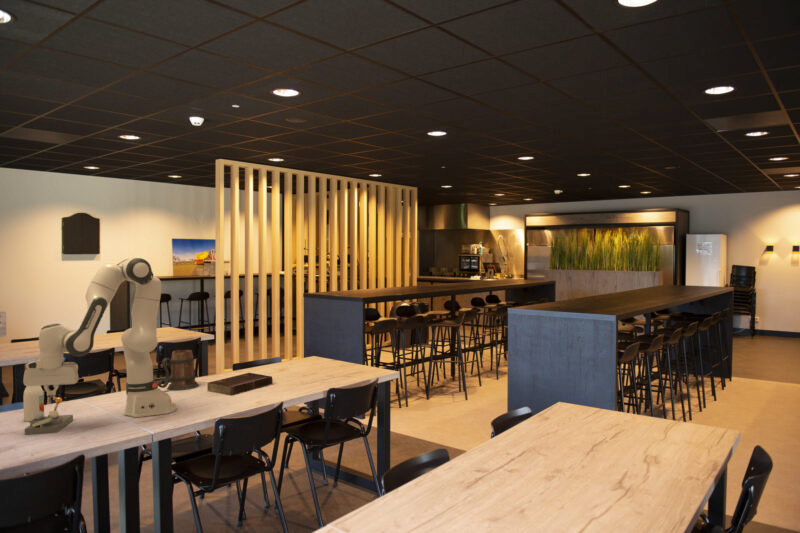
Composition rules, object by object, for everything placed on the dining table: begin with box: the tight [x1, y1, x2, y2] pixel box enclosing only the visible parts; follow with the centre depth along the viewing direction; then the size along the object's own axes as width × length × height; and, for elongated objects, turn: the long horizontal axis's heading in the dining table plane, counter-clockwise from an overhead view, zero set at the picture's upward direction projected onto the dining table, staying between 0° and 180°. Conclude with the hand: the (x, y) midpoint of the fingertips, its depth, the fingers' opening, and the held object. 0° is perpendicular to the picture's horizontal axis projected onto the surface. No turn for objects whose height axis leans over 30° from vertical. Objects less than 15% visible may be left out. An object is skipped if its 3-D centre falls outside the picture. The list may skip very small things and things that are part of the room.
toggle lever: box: [53, 397, 63, 411], centre depth 246 cm, size 3×3×7 cm
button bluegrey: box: [35, 411, 45, 420], centre depth 239 cm, size 3×3×2 cm
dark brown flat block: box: [206, 372, 274, 396], centre depth 309 cm, size 29×19×5 cm, turn 146°
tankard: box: [157, 349, 200, 392], centre depth 310 cm, size 24×17×20 cm
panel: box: [24, 412, 74, 436], centre depth 242 cm, size 12×18×4 cm, turn 11°
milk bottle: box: [22, 385, 45, 422], centre depth 255 cm, size 8×8×20 cm
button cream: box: [48, 410, 59, 418], centre depth 240 cm, size 3×3×2 cm
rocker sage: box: [32, 418, 52, 427], centre depth 235 cm, size 6×3×1 cm, turn 101°
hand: (51, 395), depth 240 cm, fingers closed
